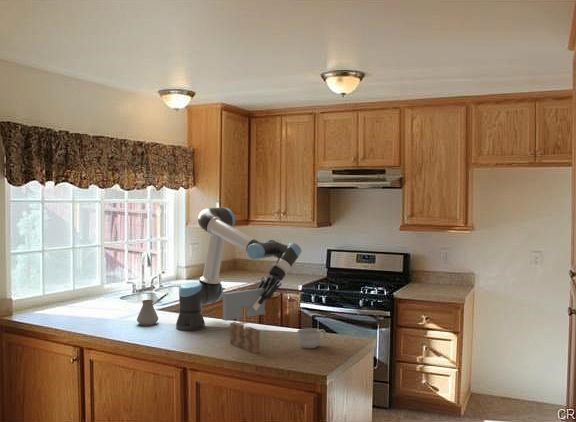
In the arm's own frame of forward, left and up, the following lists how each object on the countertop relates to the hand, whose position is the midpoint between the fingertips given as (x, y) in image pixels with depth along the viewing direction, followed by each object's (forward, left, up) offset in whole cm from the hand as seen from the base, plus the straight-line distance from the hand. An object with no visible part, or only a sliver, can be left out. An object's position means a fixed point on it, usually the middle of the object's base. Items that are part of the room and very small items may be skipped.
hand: (252, 308), depth 258 cm
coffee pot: (-71, -15, -18) cm, 75 cm away
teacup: (+19, +21, -18) cm, 33 cm away
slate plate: (0, -5, -3) cm, 6 cm away
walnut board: (+1, -5, -18) cm, 18 cm away
